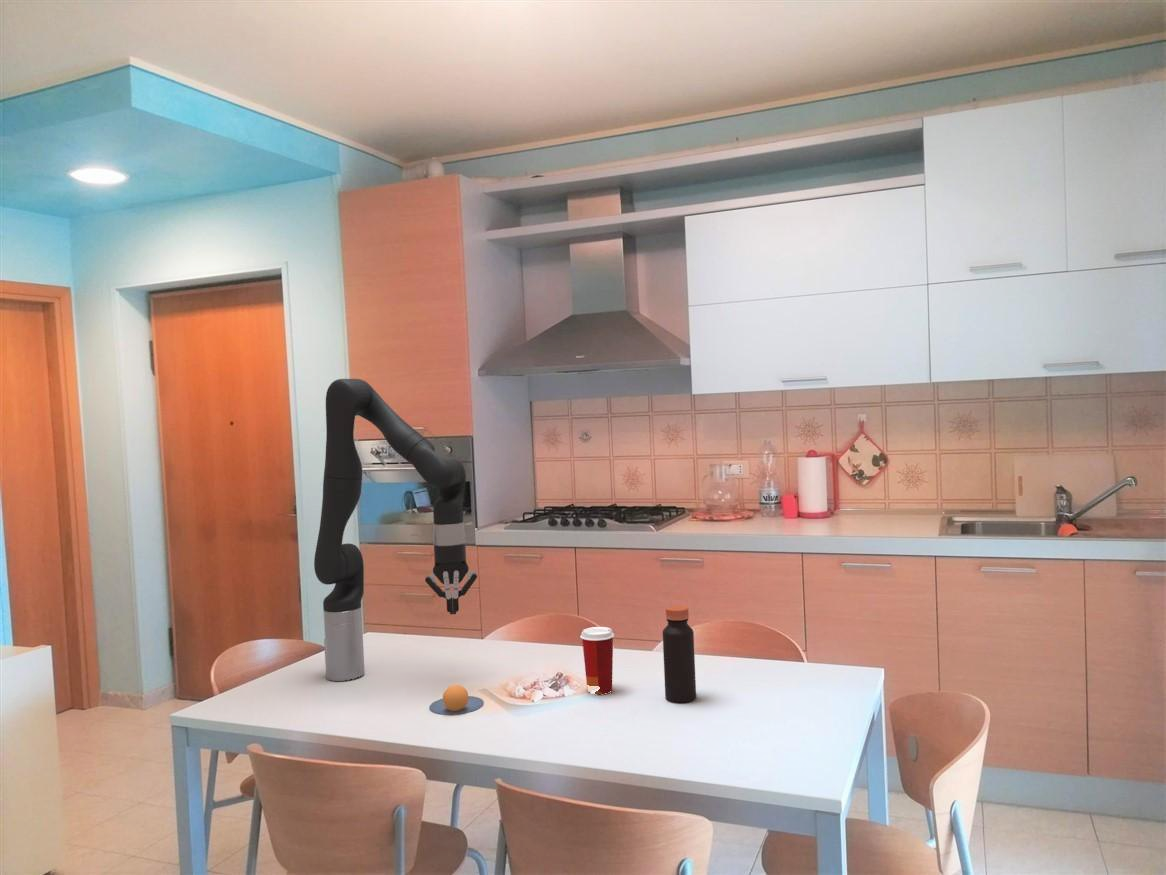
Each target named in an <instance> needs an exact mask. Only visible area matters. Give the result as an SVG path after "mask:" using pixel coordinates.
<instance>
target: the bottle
mask: <svg viewBox="0 0 1166 875" xmlns="http://www.w3.org/2000/svg"><path fill="white" fill-rule="evenodd" d="M665 616H666V617H665V618H666V622H667V625H666V626H665V627H664V628H663V629H662V646H663V647H662V650H663V674H664V675H663V676H664V692H665V693H664V696H665V697H664V698H665V699H666V700H667V701H668V702H671V703H674V704H686V703H687V704H688V703H690V702H693V701H695V700H696V698H697V686H696V685H697V683H696V682H697V681H696V667H695V666H696V665H695V663H696V659H695V656H696V655H695V636H694V628H692V627H691V626H690V625H689V624H688V621H689V607H687V606H684V605H670V606H668V607H666V608H665Z"/></svg>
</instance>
